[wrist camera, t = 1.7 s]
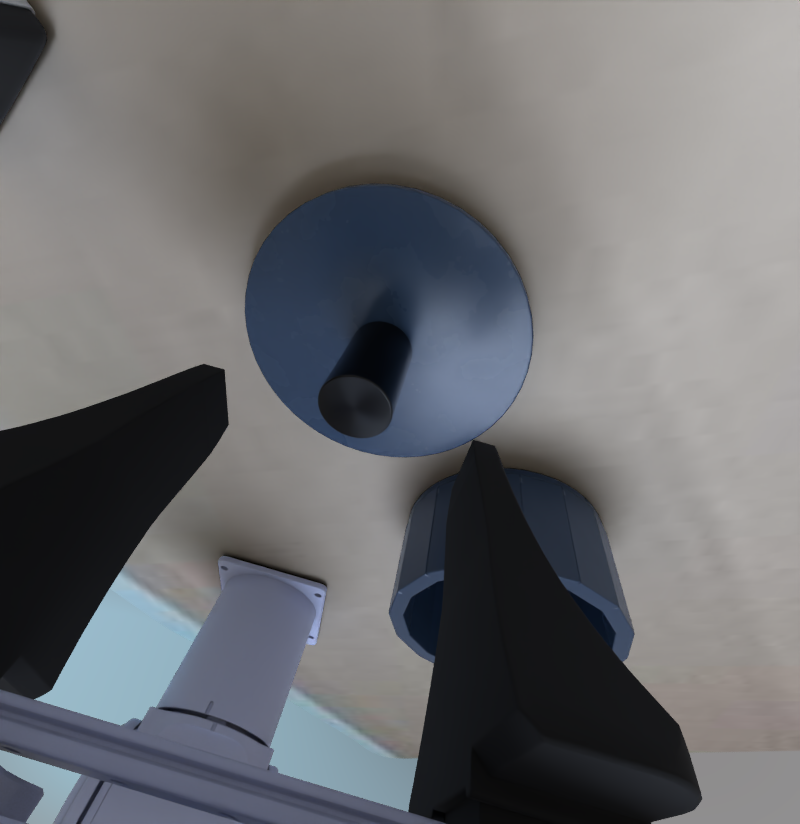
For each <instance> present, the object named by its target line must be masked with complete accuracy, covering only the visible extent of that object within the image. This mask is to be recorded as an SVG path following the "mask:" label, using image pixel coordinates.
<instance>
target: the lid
mask: <svg viewBox="0 0 800 824" xmlns="http://www.w3.org/2000/svg"><path fill="white" fill-rule="evenodd" d="M245 317H246V327H247V332H248V336H249V341H250V345H251V348H252V351H253V353H254V356H255V359H256V361H257V363H258V365H259V367H260V369H261V371H262V373H263V375H264V377H265V379H266V380H267V382H268V383H269V385H270V386H271V388H272V389H273V391H274V392H275V393H276V394H277V396H278V397H279V398H280V399H281V401H282V402H283V403H284V404H285V405H286V406H287V407H288V408H289V409H290V410H291V411H292V412H293V413H294V414H295V415H296V416H297V417H299V418H300V419H301V420H302V421H303V422H305V423H306V424H307V425H309V426H310V427H312V428H313V429H314V430H316V431H317V432H319V433H321V434H322V435H324V436H326V437H328V438H330V439H331V440H333V441H336V442H338V443H340V444H342V445H345V446H347V447H350V448H353V449H356V450H359V451H362V452H367V453H371V454H375V455H382V456H389V457H418V456H426V455H432V454H437V453H441V452H444V451H448V450H451V449H454V448H456V447H458V446H461V445H463V444H466V443H467V442H469V441H471V440H473V439H474V438H476V437H478V436H479V435H481V434H482V433H483V432H485V431H486V430H488V429H489V428H490V427H492V426H493V425H494V424H495V423H496V422H497V421H498V420H499V419H500V418H501V417H502V416H503V415H504V413H505V412H506V411H507V410H508V408H509V407H510V406H511V404H512V403H513V402H514V400H515V398H516V396H517V395H518V393H519V391H520V390H521V388H522V385H523V383H524V380H525V378H526V375H527V373H528V369H529V364H530V360H531V356H532V346H533V325H532V315H531V310H530V306H529V301H528V297H527V293H526V290H525V287H524V285H523V282H522V279H521V277H520V274H519V272H518V271H517V269H516V267H515V265H514V263H513V262H512V260H511V258H510V256H509V255H508V253H507V252H506V251H505V249H504V248H503V247H502V246H501V244H500V243H499V242H498V240H497V239H496V238H495V237H494V236H493V235H492V234H491V233H490V232H489V231H488V230H487V229H486V228H485V227H484V226H483V225H482V224H481V223H480V222H479V221H478V220H476V219H475V218H473V217H472V216H471V215H469V214H468V213H467V212H465V211H464V210H462V209H461V208H460V207H458V206H456V205H454V204H452V203H450V202H448V201H446V200H444V199H442V198H441V197H438V196H436V195H433V194H430V193H427V192H424V191H421V190H419V189H415V188H410V187H404V186H399V185H393V184H364V185H355V186H348V187H344V188H341V189H337V190H334V191H330V192H327V193H325V194H323V195H321V196H319V197H317V198H314V199H312V200H310V201H308V202H306V203H304V204H303V205H301V206H300V207H298V208H297V209H295V210H294V211H292V212H291V213H290V214H288V215H287V216H286V217H285V218H284V219H283V220H282V221H281V222H280V223H279V224H278V225H277V226H276V227H275V228H274V229H273V230H272V232H271V233H270V234H269V236H268V237H267V238H266V240H265V241H264V242H263V244H262V246H261V248H260V250H259V252H258V254H257V255H256V257H255V259H254V262H253V265H252V268H251V271H250V274H249V278H248V283H247V289H246V296H245Z"/></svg>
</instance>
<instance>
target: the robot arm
mask: <svg viewBox="0 0 800 824" xmlns="http://www.w3.org/2000/svg"><path fill="white" fill-rule="evenodd" d="M228 425H229V423H228V410H227V396H226V383H225V370H224V369H220V368H217V367H213V366H210V365H206V364H202V365H199V366H196V367H193V368H190V369H188V370H185V371H183V372H180V373H177V374H175V375H172V376H170V377H167V378H165V379H162V380H160V381H157V382H155V383H152V384H150V385H147V386H144V387H142V388H139V389H137V390H134V391H132V392H129V393H126V394H124V395H121V396H118V397H115V398H112V399H109V400H106V401H104V402H101V403H98V404H95V405H92V406H89V407H86V408H83V409H80V410H77V411H74V412H71V413H68V414H64V415H61V416H58V417H54V418H50V419H47V420H43V421H39V422H36V423H32V424H28V425H24V426H20V427H16V428H11V429H7V430H2V431H0V750H3V751H7V752H10V753H13V754H16V755H20V756H23V757H26V758H29V759H33V760H36V761H39V762H43V763H46V764H50V765H52V766H56V767H59V768H62V769H66V770H69V771H72V772H76V773H79V774H82V775H81V776H80V778H79V779H78V781H77V783H76V784H75V786H74V788H73V789H72V791H71V793H70V794H69V796H68V798H67V800H66V801H65V803H64V805H63V806H62V808H61V810H60V812H59V814H58V815H57V817H56V819H55V821H54V823H53V824H651V822H653V821H657V820H661V819H665V818H669V817H674V816H678V815H682V814H685V813H687V812H690V811H693V810H694V809H695V808H696V807H697V806H698V805H699V803H700V802H701V800H702V796H701V791H700V788H699V785H698V781H697V778H696V775H695V771H694V768H693V765H692V762H691V758H690V754H689V752H688V749H687V746H686V743H685V740H684V737H683V735H682V732H681V729H680V727H679V725H678V724H677V723H676V721H675V720H674V719H673V718H672V717H671V716H670V715H669V714H668V713H667V712H666V710H665V709H664V708H663V707H662V706H661V705H660V704H659V703H658V702H657V701H656V699H655V698H654V697H653V696H652V695H651V694H650V693H649V692H648V691H647V690H646V689H645V687H644V686H643V685H642V684H641V683H640V682H639V681H638V680H637V679H636V678H635V676H634V675H633V674H632V673H631V672H630V671H629V670H628V668H627V667H626V666H625V665H624V664H623V662H622V661H621V660H620V659H619V658H618V656H617V655H616V654H615V653H614V651H613V650H612V649H611V648H610V647H609V645H608V644H607V643H606V642H605V641H604V639H603V638H602V637H601V635H600V634H599V633H598V632H597V630H596V629H595V628H594V626H593V625H592V624H591V622H590V621H589V620H588V618H587V617H586V616H585V614H584V613H583V612H582V610H581V609H580V607H579V606H578V605H577V603H576V602H575V601H574V599H573V598H572V596H571V595H570V594H569V592H568V591H567V589H566V588H565V586H564V585H563V583H562V582H561V580H560V579H559V577H558V576H557V574H556V572H555V571H554V569H553V568H552V566H551V564H550V563H549V561H548V559H547V558H546V556H545V554H544V553H543V551H542V549H541V547H540V545H539V544H538V542H537V540H536V538H535V536H534V534H533V532H532V530H531V529H530V527H529V525H528V523H527V521H526V519H525V517H524V514H523V512H522V510H521V508H520V506H519V504H518V501H517V499H516V497H515V495H514V492H513V490H512V488H511V485H510V483H509V481H508V478H507V476H506V473H505V471H504V468H503V465H502V463H501V460H500V457H499V455H498V452H497V450H496V448H495V446H493V445H489V444H486V443H482V442H479V441H475V440H473V441H472V444H471V446H470V448H469V451H468V453H467V455H466V457H465V460H464V462H463V464H462V467H461V469H460V471H459V474H458V476H457V478H456V480H455V483H454V485H453V487H452V491H451V497H450V503H449V509H448V515H447V523H446V542H445V563H444V586H443V602H442V613H441V620H440V627H439V634H438V641H437V648H436V654H435V661H434V667H433V674H432V680H431V687H430V692H429V698H428V704H427V710H426V716H425V722H424V728H423V734H422V739H421V745H420V750H419V756H418V761H417V767H416V772H415V778H414V783H413V788H412V793H411V799H410V804H409V812H406V811H403V810H399V809H396V808H393V807H389V806H386V805H383V804H379V803H376V802H373V801H369V800H366V799H363V798H359V797H356V796H353V795H349V794H346V793H343V792H339V791H336V790H333V789H330V788H326V787H323V786H319V785H316V784H313V783H310V782H306V781H303V780H299V779H296V778H293V777H289V776H286V775H283V774H280V773H278V769H277V768H276V767H275V766H271V765H269V763H270V760H271V757H272V754H273V752H274V750H273V749H272V748H270V745H271V742H272V739H273V736H274V733H275V730H276V728H277V725H278V722H279V719H280V716H281V714H282V711H283V708H284V705H285V702H286V699H287V696H288V694H289V691H290V688H291V685H292V682H293V679H294V676H295V674H296V671H297V668H298V665H299V662H300V659H301V656H302V654H303V651H304V648H305V645H306V644H310V645H315V644H316V642H317V639H318V634H319V628H320V623H321V618H322V613H323V607H324V602H325V597H326V591H327V588H326V586H325V585H323V584H321V583H317V582H314V581H310V580H307V579H303V578H300V577H297V576H293V575H290V574H286V573H283V572H279V571H276V570H272V569H269V568H266V567H262V566H259V565H255V564H252V563H248V562H245V561H242V560H238V559H235V558H231V557H228V556H221V557H220V559H219V560H218V567H219V574H220V582H221V590H222V592H221V594H220V596H219V598H218V599H217V601H216V603H215V605H214V606H213V608H212V610H211V612H210V613H209V615H208V617H207V619H206V621H205V622H204V624H203V626H202V628H201V629H200V631H199V633H198V635H197V636H196V638H195V640H194V642H193V643H192V645H191V647H190V649H189V651H188V653H187V654H186V656H185V658H184V660H183V661H182V663H181V665H180V667H179V668H178V670H177V672H176V673H175V675H174V677H173V679H172V681H171V683H170V684H169V686H168V688H167V690H166V691H165V693H164V695H163V696H162V698H161V700H160V702H159V704H158V705H157V707H156V708H155V707H150V708H149V710H148V712H147V713H146V715H145V717H144V719H143V720H142V721H141V720H139V719H136V718H133V719H131V720H129V721H128V722H127V723H126V724H123V725H121V726H120V725H117V724H113V723H110V722H107V721H103V720H100V719H97V718H93V717H90V716H87V715H83V714H80V713H77V712H73V711H70V710H66V709H63V708H60V707H57V706H53V705H50V704H47V703H43V702H40V701H37V700H33V699H36V698H38V697H40V696H42V695H44V694H46V693H47V692H49V691H50V690H52V688H53V686H54V684H55V683H56V680H57V679H58V677H59V674H60V673H61V671H62V669H63V667H64V666H65V664H66V662H67V660H68V659H69V657H70V655H71V653H72V651H73V650H74V648H75V646H76V644H77V642H78V640H79V639H80V637H81V635H82V633H83V632H84V630H85V628H86V627H87V625H88V623H89V622H90V619H91V618H92V616H93V615H94V613H95V611H96V610H97V608H98V606H99V605H100V603H101V601H102V600H103V598H104V596H105V595H106V593H107V591H108V590H109V588H110V587H111V585H112V584H113V582H114V580H115V579H116V577H117V576H118V574H119V573H120V571H121V570H122V568H123V566H124V565H125V563H126V562H127V560H128V559H129V557H130V556H131V554H132V553H133V551H134V550H135V548H136V547H137V545H138V544H139V542H140V541H141V539H142V538H143V537H144V535H145V534H146V532H147V531H148V529H149V528H150V526H151V525H152V524H153V523H154V521H155V520H156V519H157V517H158V516H159V515H160V513H161V512H162V511H163V510H164V509H165V508H166V506H167V505H168V504H169V503H170V502H171V500H172V499H173V498H174V497H175V496H176V495H177V493H178V492H179V491H180V490H181V489H182V487H183V486H184V485H185V484H186V483H187V481H188V480H189V479H190V478H191V477H192V476H193V474H194V473H195V472H196V471H197V470H198V468H199V467H200V466H201V465H202V464H203V462H204V461H205V460H206V459H207V457H208V456H209V455H210V454H211V452H212V451H213V449H214V448H215V446H216V445H217V443H218V441H219V440H220V438H221V437H222V435H223V433H224V432H225V430H226V428H227V427H228ZM42 797H43V789H42V788H40V787H38V786H36V785H34V784H31V783H29V782H27V781H25V780H23V779H21V778H19V777H17V776H15V775H13V774H12V773H10V772H8V771H6V770H5V769H4V768H3V767H1V766H0V824H27V823H26V821H27V819H28V818H29V816H30V815H31V813H32V812H33V810H34V809H35V807H36V806H37V804H38V803H39V801H40V800H41V798H42Z"/></svg>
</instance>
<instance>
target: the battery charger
mask: <svg viewBox="0 0 800 824" xmlns="http://www.w3.org/2000/svg"><path fill="white" fill-rule="evenodd" d="M46 41H47V36H46V32H45V30H44V27H43V26H42V25H41V23H40V22H39V20H38V19H37V18H36V16H35V12H34V10H33V8H32V7H31V5H30V4H29V3H28V2H27V0H0V124H1V123H2V121H3V119H4V118H5V116H6V114H7V113H8V111H9V109H10V108H11V106H12V104H13V102H14V101H15V99H16V97H17V95H18V94H19V92H20V90H21V88H22V86H23V85H24V83H25V81H26V79H27V78H28V76H29V74H30V72H31V70H32V68H33V67H34V65H35V63H36V61H37V59H38V57H39V55H40V53H41V52H42V50H43V48H44V46H45V44H46Z"/></svg>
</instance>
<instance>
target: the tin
mask: <svg viewBox="0 0 800 824" xmlns="http://www.w3.org/2000/svg"><path fill="white" fill-rule="evenodd" d="M504 471H505V473H506V476H507V478H508V481H509V483H510V485H511V488H512V490H513V492H514V495H515V497H516V499H517V501H518V504H519V506H520V508H521V510H522V512H523V514H524V517H525V519H526V521H527V523H528V525H529V527H530V529H531V530H532V532H533V534H534V536H535V538H536V540H537V542H538V544H539V545H540V547H541V549H542V551H543V553H544V554H545V556H546V558H547V559H548V561H549V563H550V564H551V566H552V568H553V569H554V571H555V572H556V574H557V576H558V577H559V579H560V580H561V582H562V583H563V585H564V586H565V588H566V589H567V591H568V592H569V594H570V595H571V596H572V598H573V599H574V601H575V602H576V603H577V605H578V606H579V607H580V609H581V610H582V612H583V613H584V614H585V616H586V617H587V618H588V620H589V621H590V622H591V624H592V625H593V626H594V628H595V629H596V630H597V632H598V633H599V634H600V635H601V637H602V638H603V639H604V641H605V642H606V643H607V644H608V645H609V647H610V648H611V649H612V650H613V651H614V653H615V654H616V655H617V656H618V658H619V659H620V660H621V661H622V662H623V661H624V660H626V659H627V657H628V655H629V652H630V648H631V645H632V641H633V638H634V629H633V626H632V622H631V619H630V615H629V612H628V608H627V604H626V601H625V597H624V594H623V590H622V587H621V583H620V579H619V576H618V572H617V569H616V565H615V562H614V558H613V554H612V551H611V547H610V544H609V540H608V537H607V533H606V531H605V529H604V528H603V525H602V522H601V520H600V517H599V515H598V513H597V512H596V510H595V509H594V507H593V506H592V505H591V504H590V502H589V501H588V500H587V499H586V498H585V497H584V496H582V495H581V494H580V493H579V492H577V491H576V490H575V489H573V488H571V487H570V486H568V485H566V484H565V483H562V482H560V481H558V480H556V479H554V478H551V477H548V476H545V475H542V474H539V473H535V472H530V471H526V470H519V469H511V468H504ZM457 476H458V474H455V475H453V476H450V477H448V478H445V479H443V480H441V481H439V482H437V483H436V484H434V485H433V486H431V487H430V488H428V489H427V490H426V491H425V492H424V493H423V494H422V495H421V496H420V497H419V498H418V500H417V501H416V502H415V504H414V506H413V508H412V510H411V513H410V517H409V521H408V524H407V526H406V530H405V535H404V540H403V545H402V550H401V555H400V560H399V564H398V569H397V574H396V579H395V584H394V589H393V594H392V598H391V603H390V608H389V615H390V618H391V621H392V623H393V626H394V629H395V632H396V635H397V636H398V637H399V638H400V639H401V640H402V641H403V642H405V643H406V644H407V645H408V646H409V647H410V648H411V649H412V650H413V651H414V652H415V653H416V654H417V655H419V656H420V657H422V658H424V659H426V660H428V661H430V662H432V663H434V661H435V654H436V648H437V641H438V634H439V627H440V620H441V613H442V602H443V586H444V563H445V542H446V523H447V515H448V509H449V503H450V497H451V491H452V487H453V485H454V483H455V480H456V478H457Z"/></svg>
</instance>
